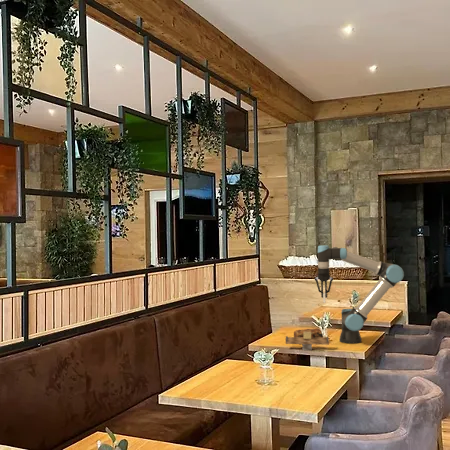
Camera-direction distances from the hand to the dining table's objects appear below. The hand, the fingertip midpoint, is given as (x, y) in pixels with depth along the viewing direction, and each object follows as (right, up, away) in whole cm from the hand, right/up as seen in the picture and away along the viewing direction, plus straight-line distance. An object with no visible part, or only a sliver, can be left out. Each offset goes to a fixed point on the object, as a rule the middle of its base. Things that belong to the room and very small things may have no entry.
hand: (324, 302), depth 376 cm
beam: (-13, -30, -10) cm, 34 cm away
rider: (-13, -24, -10) cm, 29 cm away
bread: (-10, -30, +9) cm, 33 cm away
